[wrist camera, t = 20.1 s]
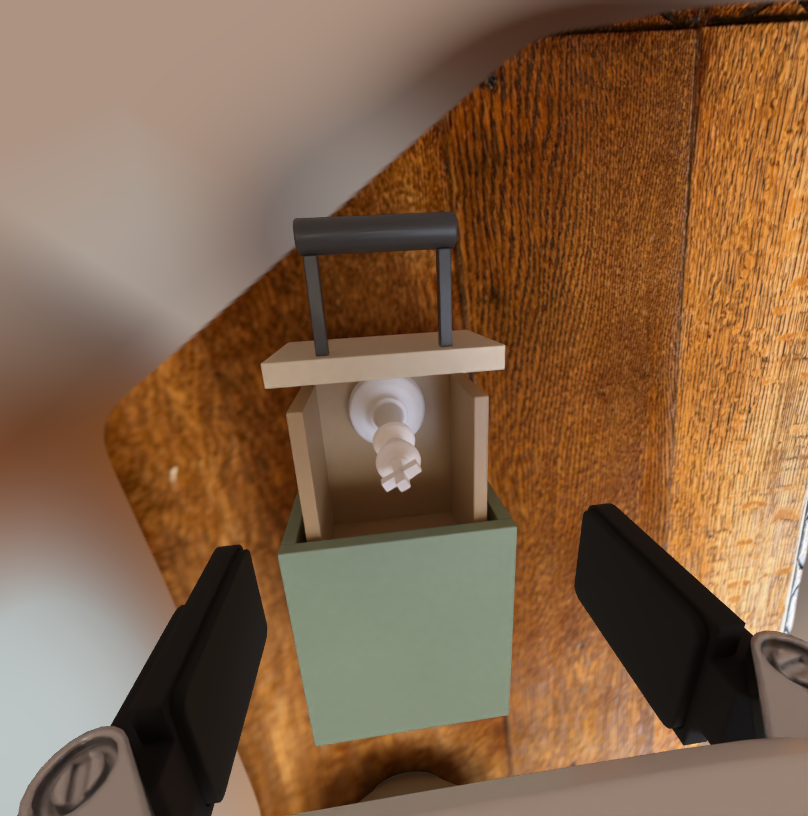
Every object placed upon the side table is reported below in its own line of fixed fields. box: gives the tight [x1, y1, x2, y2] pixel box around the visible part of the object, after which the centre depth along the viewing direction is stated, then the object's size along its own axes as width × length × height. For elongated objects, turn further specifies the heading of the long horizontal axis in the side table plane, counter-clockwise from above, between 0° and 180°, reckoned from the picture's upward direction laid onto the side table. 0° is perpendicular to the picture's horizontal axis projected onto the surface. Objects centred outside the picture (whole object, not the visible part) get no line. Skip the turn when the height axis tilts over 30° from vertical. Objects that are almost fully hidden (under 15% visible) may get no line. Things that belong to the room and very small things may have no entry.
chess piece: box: [348, 377, 425, 492], centre depth 19 cm, size 5×5×10 cm
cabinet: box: [278, 481, 517, 746], centre depth 26 cm, size 15×13×9 cm
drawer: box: [261, 212, 505, 542], centre depth 22 cm, size 19×11×7 cm, turn 3°
